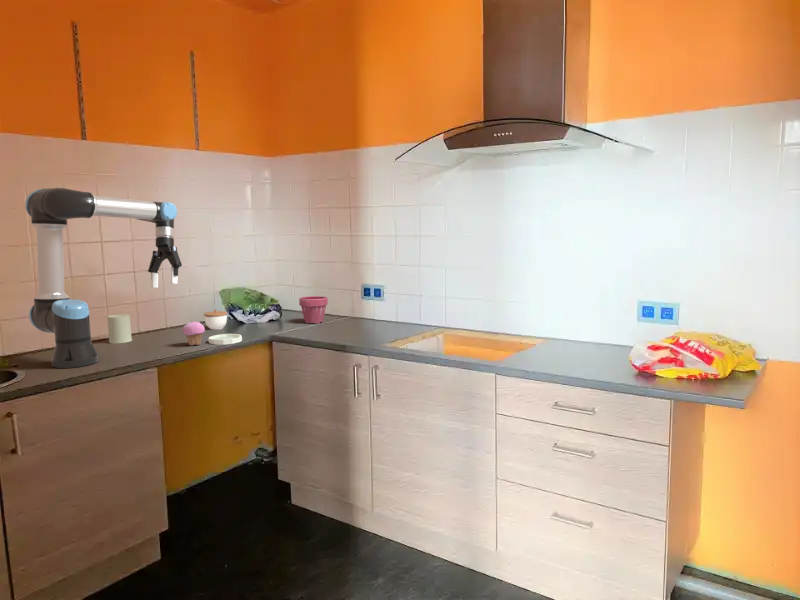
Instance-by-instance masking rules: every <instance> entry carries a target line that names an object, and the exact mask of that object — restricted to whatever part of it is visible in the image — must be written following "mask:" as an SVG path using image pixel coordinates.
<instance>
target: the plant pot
mask: <svg viewBox="0 0 800 600" xmlns="http://www.w3.org/2000/svg"><path fill="white" fill-rule="evenodd" d="M298 299H299V302H298V303H299V306H300V307H301V311H302V316H303V319H304V323H305V324H308V323H317V324H321V323H320V322H323V323H324V320H325V319H324V318H325V316H326V315H325V314H326V308H327V305H328V303H329V302H328V301H329V300H328V297H327V296H320V295H316V296H315V295H313V296H302V297H299V298H298Z"/></svg>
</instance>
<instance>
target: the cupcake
mask: <svg viewBox="0 0 800 600" xmlns="http://www.w3.org/2000/svg"><path fill="white" fill-rule="evenodd" d="M205 331H206V329H205V326H204V325H203V324H202V323H201V322H199V321H192V322H191V321H190V322H188V323H186V324H185V325H183V327H182V333H183V335H185V337H186V340H187V344H188V345H189V346H191V347H193V346H195V345H197V346H200V345H201V342H202V337H203V333H205Z"/></svg>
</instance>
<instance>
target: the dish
mask: <svg viewBox="0 0 800 600" xmlns="http://www.w3.org/2000/svg"><path fill="white" fill-rule="evenodd" d="M242 341H243V337H242V335H241V334H240V333H239V334H237V333H223V334H222V333H221V334H215V335H210V336H209V337H208V344H209V345H210V344H211V345H217V346H218V345H220V346H221V345H223V346H224V345H233V344H236V343H240V342H242Z"/></svg>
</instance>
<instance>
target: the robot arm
mask: <svg viewBox="0 0 800 600" xmlns="http://www.w3.org/2000/svg"><path fill="white" fill-rule="evenodd" d="M24 207H25V210H26V213H27V214H28V215H29V216H30V221H31V223H30V224H31V225H32V226H33V227H34V228H35V230H36V250H37V252H36V253H37V255H36V256H37V257H36V258H37V281H38V282H37V284H38V292H37V294H36V295H35V296H34V297H33V305H32V307H30V309H29V313H28V318H29V321H30V323H31V324H32V326H33V327H34V328H35V329H37V330H39V331H41V332H44V333H50V334H54V341H55V346H54V349H53V353H52V357H51V366H52V367H53V368H54V369H55V368H56V369H69V368H81V367H86V366H90V365H94V364H97V363H98V361H99V356H98V353H97V351H96V348H95V347H94V344H93V341H92V337H91V336H92V335H91V322H90V309H89V305H88V303H87V302H86V301H83V300H80V299H70V295H68V294H67V293H65V262H64V261H65V260H64V259H65V258H64V256H65V255H64V229H65V228H67V226H68V220H73V219H91V218H93V216H94V217H107V218H122V219H123V218H124V219H135V220H137V221H141V222H142V221H144V222H148V223H153V224H155V247H156V248H157V250H153V251H152V256H151V258H150V262H149V267H148V269H147V273H151V274H150V275H151V276H150V277H151V288H153V289H157V288H158V289H159V272H158V271H159V269H160V267H161V265H162V263H163V262H164V261H165V260H167V261H168V262H169V264H170V265H171V270H170V272H171V275H170V276H171V277H170V279H171V280H170V281H171V282H170V284H173V285H178V283H179V282H178V281H179V277H178V276H179V269H180V267H182V265H183V264H182V262H181V259H180V255H179V253H178V247H177V246H175V239H174V237H175V235H174V233H175V218H176V217H177V215H178V208H177V206H176V205H175V204H174V203H172V202H168V201H164V202H163V201H162V202H161V201H152V200H151V201H150V200H143V199H131V198H121V197H113V196H112V197H110V196H103V195H102V196H101V195H94V194H93V193H92V192H91V191H90V192H89V191H88V192H87V191H81V190H75V189H70V188H66V187H65V188H64V187H55V188H54V187H50V188H40V189H37V190H34V191H32V192H31V193H30V194H29V195H28V196H27V198H26V200H25V206H24Z"/></svg>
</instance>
